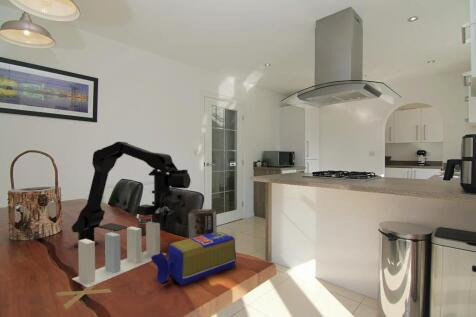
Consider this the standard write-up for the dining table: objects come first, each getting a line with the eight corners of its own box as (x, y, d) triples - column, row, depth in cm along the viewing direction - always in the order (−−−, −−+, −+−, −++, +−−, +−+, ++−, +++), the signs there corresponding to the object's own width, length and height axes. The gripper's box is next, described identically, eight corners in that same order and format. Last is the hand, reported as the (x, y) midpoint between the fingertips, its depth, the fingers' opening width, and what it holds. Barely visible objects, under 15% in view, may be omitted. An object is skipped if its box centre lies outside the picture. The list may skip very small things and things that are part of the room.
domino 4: (155, 256, 87) (155, 224, 87) (146, 253, 90) (146, 222, 90) (160, 254, 89) (159, 223, 89) (151, 251, 92) (150, 221, 92)
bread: (239, 267, 80) (239, 235, 80) (165, 295, 64) (165, 255, 64) (221, 257, 88) (220, 228, 88) (151, 280, 72) (150, 244, 72)
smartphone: (115, 230, 120) (97, 226, 127) (115, 232, 120) (97, 227, 127) (129, 226, 126) (111, 222, 134) (129, 228, 126) (111, 224, 134)
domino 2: (114, 273, 75) (113, 236, 75) (105, 269, 77) (104, 233, 77) (120, 270, 76) (120, 234, 76) (111, 266, 79) (111, 232, 79)
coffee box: (217, 252, 92) (217, 208, 92) (214, 259, 86) (213, 212, 86) (193, 251, 93) (193, 208, 93) (188, 258, 87) (187, 212, 87)
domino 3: (136, 264, 81) (135, 230, 81) (127, 260, 84) (126, 227, 84) (141, 261, 83) (141, 228, 83) (132, 258, 85) (132, 226, 85)
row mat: (71, 281, 71) (71, 278, 71) (151, 251, 94) (150, 249, 94) (87, 290, 66) (87, 287, 66) (167, 256, 89) (167, 254, 89)
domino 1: (87, 283, 68) (87, 243, 68) (78, 279, 71) (78, 240, 71) (95, 280, 70) (94, 241, 70) (86, 276, 73) (85, 238, 73)
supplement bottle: (139, 236, 112) (138, 211, 112) (137, 233, 117) (137, 208, 117) (152, 234, 114) (152, 209, 114) (151, 231, 120) (150, 207, 120)
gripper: (155, 192, 81) (156, 240, 81) (195, 186, 96) (195, 226, 96) (134, 190, 87) (135, 234, 87) (175, 184, 102) (175, 222, 103)
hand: (162, 229), depth 93 cm, fingers closed
